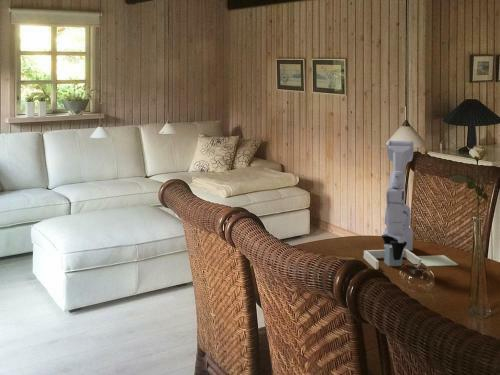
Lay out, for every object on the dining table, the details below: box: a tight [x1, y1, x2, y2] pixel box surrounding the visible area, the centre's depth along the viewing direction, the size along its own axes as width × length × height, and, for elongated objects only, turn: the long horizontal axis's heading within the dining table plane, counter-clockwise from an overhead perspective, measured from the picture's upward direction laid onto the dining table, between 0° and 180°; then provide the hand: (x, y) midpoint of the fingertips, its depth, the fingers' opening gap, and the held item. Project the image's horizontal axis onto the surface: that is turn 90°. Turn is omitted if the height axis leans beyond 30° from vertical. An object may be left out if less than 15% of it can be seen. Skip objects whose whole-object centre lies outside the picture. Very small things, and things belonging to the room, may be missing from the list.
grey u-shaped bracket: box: [363, 249, 422, 270], centre depth 226 cm, size 17×14×3 cm
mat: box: [416, 254, 459, 268], centre depth 228 cm, size 12×12×1 cm
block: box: [383, 243, 403, 267], centre depth 224 cm, size 5×5×7 cm
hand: (393, 256), depth 224 cm, fingers open, 7 cm apart
